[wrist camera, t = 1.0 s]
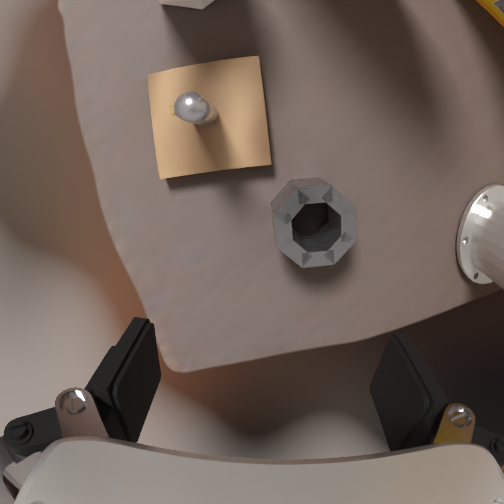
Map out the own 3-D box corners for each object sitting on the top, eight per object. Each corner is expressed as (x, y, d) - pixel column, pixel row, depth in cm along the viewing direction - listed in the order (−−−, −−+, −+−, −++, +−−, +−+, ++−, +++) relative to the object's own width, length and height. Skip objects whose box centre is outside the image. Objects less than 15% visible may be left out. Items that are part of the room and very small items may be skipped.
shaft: (217, 102, 23) (202, 89, 17) (219, 124, 24) (206, 118, 17) (191, 107, 23) (168, 95, 17) (193, 128, 24) (171, 124, 18)
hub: (339, 176, 27) (355, 184, 22) (341, 243, 29) (356, 262, 24) (269, 182, 27) (271, 190, 23) (275, 249, 29) (278, 270, 25)
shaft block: (258, 60, 23) (258, 55, 22) (270, 163, 27) (271, 164, 25) (152, 77, 24) (147, 75, 22) (164, 177, 27) (159, 179, 26)
